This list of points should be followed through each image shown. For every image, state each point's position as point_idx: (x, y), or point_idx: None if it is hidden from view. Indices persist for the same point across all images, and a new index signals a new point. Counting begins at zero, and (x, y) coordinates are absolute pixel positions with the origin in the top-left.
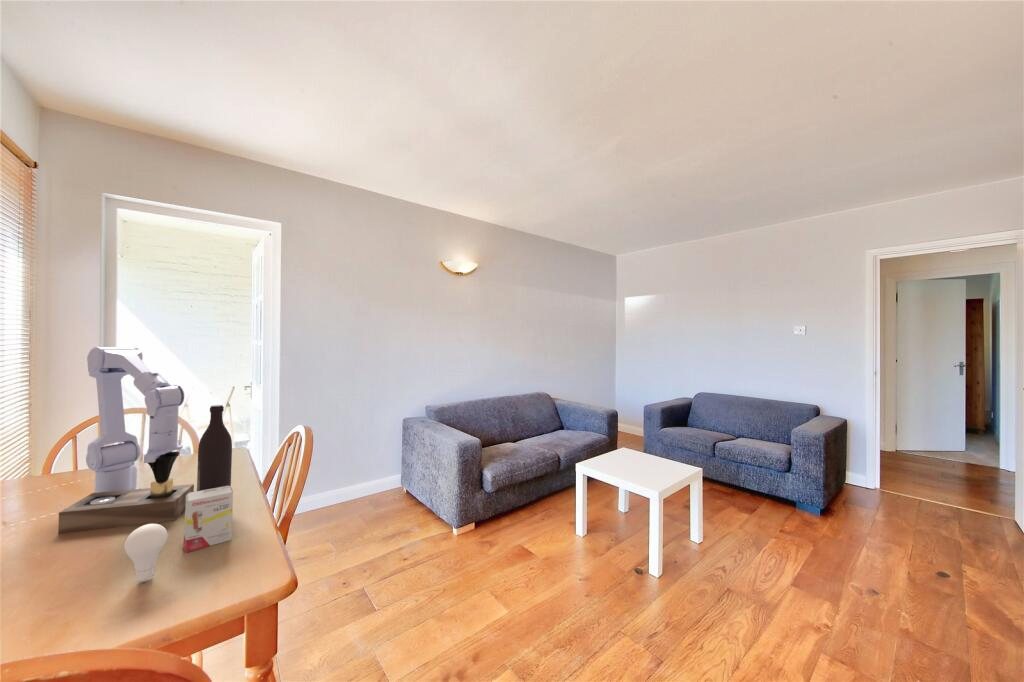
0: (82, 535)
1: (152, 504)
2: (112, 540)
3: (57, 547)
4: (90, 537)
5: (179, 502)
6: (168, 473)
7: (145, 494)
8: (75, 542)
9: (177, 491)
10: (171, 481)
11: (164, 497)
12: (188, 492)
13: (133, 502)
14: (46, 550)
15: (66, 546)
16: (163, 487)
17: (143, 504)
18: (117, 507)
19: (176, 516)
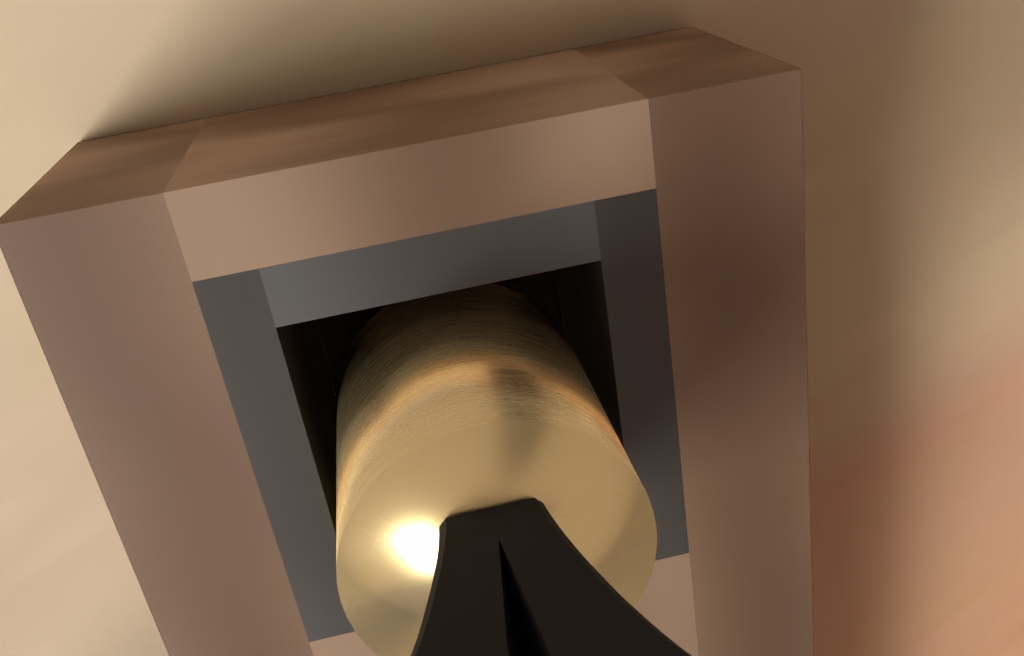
0: (827, 616)
1: (800, 324)
2: (1011, 332)
3: (991, 620)
4: (886, 537)
5: (588, 86)
6: (540, 575)
7: None
8: (946, 572)
9: (368, 283)
10: (505, 417)
11: (606, 316)
12: (250, 158)
13: (716, 566)
14: (1014, 647)
15: (996, 578)
16: (610, 427)
17: (803, 420)
18: (809, 625)
19: (626, 42)
